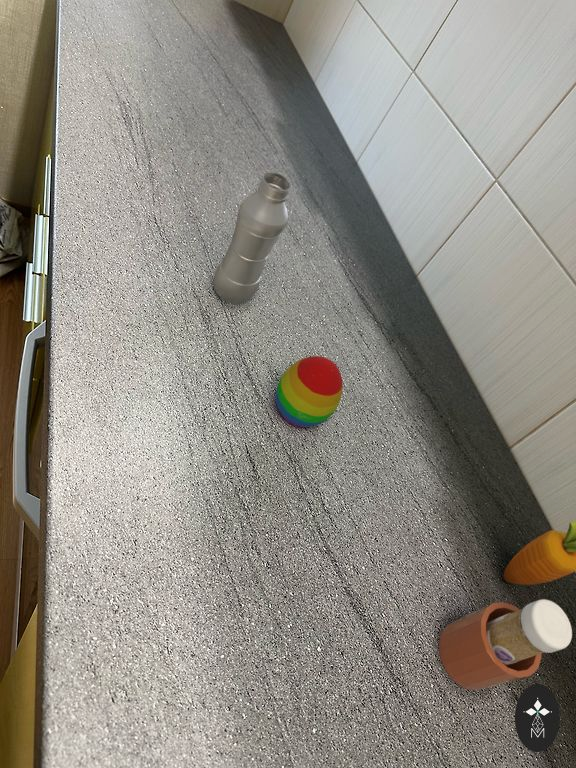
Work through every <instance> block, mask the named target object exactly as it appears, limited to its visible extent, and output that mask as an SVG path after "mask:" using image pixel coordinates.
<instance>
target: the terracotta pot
mask: <svg viewBox="0 0 576 768" xmlns="http://www.w3.org/2000/svg"><path fill="white" fill-rule="evenodd" d="M518 610H520V609H519V608H518V607H517V606H515V605H513V604H510V603H507V602H505V601H502V602H501V601H500V602H493V603H491V604H489V605H486V606H484V607H481V608H480V609H479V608H478V609H477V610H474V611H473V612H470V613H468V614H466V615H464V616H461V617H459V618H458V619H455V620H454V621H451V622H450V623H448V624H447V625H446V626H445V627H443V629H442V631H441V633H440V636H439V641H438V652H439V658H440V660H441V664H442V666H443V668H444V670H445V672H446V673H447V674H448V676H449V677H450V679H452V680H453V681H454V682H455V683H456V684H457V685H458V686H460V687H462V688H464V689H466V690H470V691H479V690H483V689H488V688H492V687H495V686H500V685H503V684H506V683H510V682H513V681H517V680H518V681H519V680H520V679H525V678H529V677H531V676H532V675H533V674H534V673H536V671H537V670H538V669H539V668H540V664H541V660H542V656H543V655H542V653H541V654H538V655H535V656H532V657H529V658H526V659H523V660H520V661H518V662H516V663H512V664H509V665H506V666H505V665H504V664H503V663H502V662H501V661H500V660H498V659H497V657H496V655H495V654H494V652H493V651H492V649H491V648H490V645H489V642H488V639H487V636H486V623H487V622H489V621H491V620H494V619H496V618H499V617H501V616H503V615H506V614H509V613H513V612H516V611H518Z"/></svg>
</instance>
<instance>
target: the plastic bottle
mask: <svg viewBox="0 0 576 768" xmlns="http://www.w3.org/2000/svg"><path fill="white" fill-rule="evenodd" d="M291 187H292V183H291V182H290V180H289V179H288V178H287V177H286V176H285V175H282V174H281V173H278V172H276V171H267V172H265V173H264V174H263V175H262V177H261V179H260V182H259V183H258V186H257V191H254V192H253V193H251V194H249V195H248V196H246V197H245V199H243V201H242V202H241V203H240V204H239V208H238V211H237V216H236V221H235V227H234V231H233V234H232V238H231V241H230V244H229V246H228V249H227V250H226V253H225V254H224V257H223V258H222V259H221V261H220V262H219V264H218V265H217V268H216V269H215V271H214V273H213V281H212V285H213V288H214V291H215V292H216V294H217V295H218V296H219V298H221V299H222V300H223V301H226V302H229V303H232V304H242V303H246V302H248V301H250V300H252V298H253V297H254V296H255V295H256V293H257V292H258V290H259V287H260V282H261V278H262V273H263V270H264V267H265V264H266V262H267V259H268V258H269V255H270V254H271V252H272V250H273V248H274V246H275V245H276V243H277V242H278V241H279V239H280V238H281V236H282V234H283V233H284V232H285V230H286V228H287V226H288V223H289V214H288V209H287V206H286V202H287V200H288V198H289V193H290V191H291V189H292V188H291Z"/></svg>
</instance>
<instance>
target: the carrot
mask: <svg viewBox="0 0 576 768" xmlns="http://www.w3.org/2000/svg"><path fill="white" fill-rule="evenodd" d="M575 572H576V520H575V521H574V520H572V521H569V524H568V529H567V532H563V531H559V530H554V529H551V530H548V531H546V532H545V533H543V534H541V535H539V536H538V537H536V538H535V539H533V540H531V541H530V542H528V543H527V544H526V545H525V546H523V547H522V548H521V549H520V550H519V551H518V552H517V553H516V554H515V555H514V556H513V557H512V559H511V560H510V561H509V562H508V564H507V566H506V567H505V569H504V572H503V574H502V576H503V580H504V581H505V582H507V583H510V584H515V585H521V586H522V585H523V586H524V585H525V586H531V585H540V584H545V583H549V582H552V581H554V580H557V579H561V578H563V577H566V576H568V575H571V574H573V573H575Z"/></svg>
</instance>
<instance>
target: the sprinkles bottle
mask: <svg viewBox="0 0 576 768" xmlns="http://www.w3.org/2000/svg"><path fill="white" fill-rule="evenodd" d="M486 636H487V639H488V642H489V645H490V648H491V649H492V651H493V652H494V654H495V655H496V657H497V659H498V660H500V661H501V662H502V663H503V664H504V665H505V666H506V665H509V664H512V663H516V662H518V661H520V660H523V659H526V658H529V657H532V656H535V655H538V654H541V655H542V654H545V653H547V654H551V653H555V652H559V651H561V650H564V649H566V648H567V647H568V646H569V645H570V644H571V641H572V638H573V629H572V624H571V622H570V619H569V618H568V615H567V613H565V611H564V610H563V608H562V607H560V605H558V604H557V603H556V602H554V601H552V600H550V599H538V600H536V601H531V602H530V603H528V604H526V605H525V606H524V607H523V608H521V609H519V610H518V611H516V612H513V613H509V614H506V615H503V616H501V617H499V618H496V619H494V620H491V621H489V622H487V623H486Z"/></svg>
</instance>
